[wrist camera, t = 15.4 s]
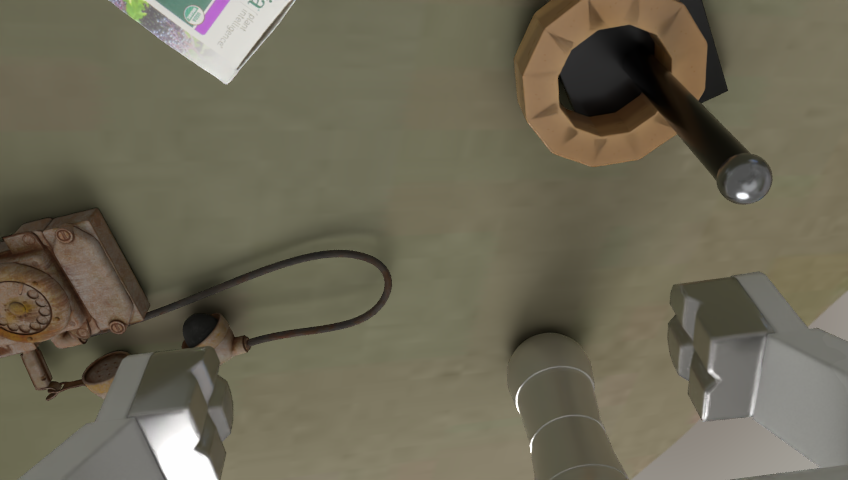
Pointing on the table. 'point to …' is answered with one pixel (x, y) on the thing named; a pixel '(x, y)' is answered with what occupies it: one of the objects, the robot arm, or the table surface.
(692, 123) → the stand
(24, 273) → the telephone
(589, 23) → the ring
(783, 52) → the table surface
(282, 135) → the table surface
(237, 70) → the syrup box
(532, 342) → the plastic bottle
